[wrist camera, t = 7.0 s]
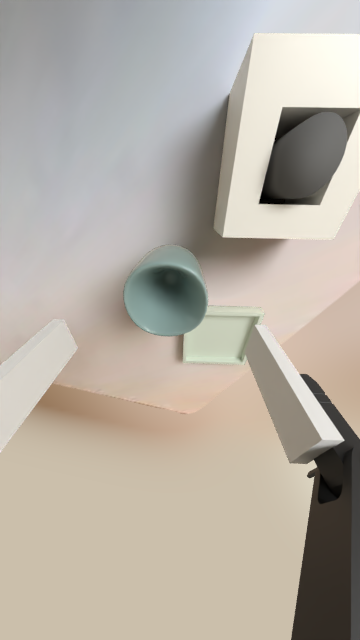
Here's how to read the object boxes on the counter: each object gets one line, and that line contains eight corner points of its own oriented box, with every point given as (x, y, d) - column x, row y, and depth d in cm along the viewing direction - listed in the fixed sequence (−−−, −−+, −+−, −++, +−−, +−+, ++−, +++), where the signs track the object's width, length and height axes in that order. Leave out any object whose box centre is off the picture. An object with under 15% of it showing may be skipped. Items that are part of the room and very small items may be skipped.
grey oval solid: (257, 141, 15) (292, 111, 10) (303, 141, 15) (363, 111, 10) (245, 198, 17) (269, 197, 12) (285, 199, 17) (324, 199, 12)
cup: (150, 294, 25) (133, 338, 17) (139, 240, 20) (109, 264, 12) (200, 292, 25) (207, 336, 17) (200, 235, 20) (211, 258, 12)
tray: (184, 305, 26) (184, 311, 25) (260, 307, 26) (265, 313, 24) (182, 355, 33) (182, 362, 32) (242, 357, 33) (244, 364, 32)
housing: (229, 93, 14) (254, 33, 9) (349, 94, 13) (441, 34, 9) (213, 228, 20) (222, 237, 15) (296, 230, 19) (333, 239, 15)
